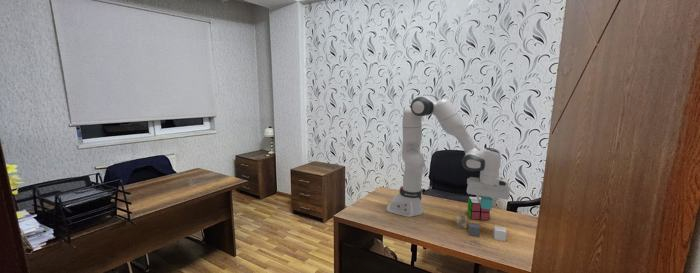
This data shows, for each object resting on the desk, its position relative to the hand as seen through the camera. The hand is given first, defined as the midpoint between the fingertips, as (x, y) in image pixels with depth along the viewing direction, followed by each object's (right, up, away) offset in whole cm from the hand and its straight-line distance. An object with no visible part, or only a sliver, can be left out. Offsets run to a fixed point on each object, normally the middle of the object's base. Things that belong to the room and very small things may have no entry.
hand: (486, 204), depth 151 cm
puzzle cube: (+4, -12, +18) cm, 22 cm away
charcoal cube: (-7, -15, -2) cm, 17 cm away
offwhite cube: (+4, -16, -6) cm, 17 cm away
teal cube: (0, -2, 0) cm, 2 cm away
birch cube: (-10, -14, +7) cm, 18 cm away
